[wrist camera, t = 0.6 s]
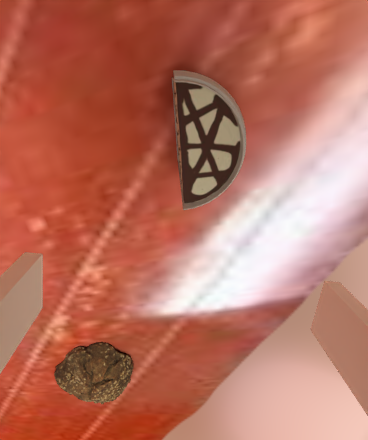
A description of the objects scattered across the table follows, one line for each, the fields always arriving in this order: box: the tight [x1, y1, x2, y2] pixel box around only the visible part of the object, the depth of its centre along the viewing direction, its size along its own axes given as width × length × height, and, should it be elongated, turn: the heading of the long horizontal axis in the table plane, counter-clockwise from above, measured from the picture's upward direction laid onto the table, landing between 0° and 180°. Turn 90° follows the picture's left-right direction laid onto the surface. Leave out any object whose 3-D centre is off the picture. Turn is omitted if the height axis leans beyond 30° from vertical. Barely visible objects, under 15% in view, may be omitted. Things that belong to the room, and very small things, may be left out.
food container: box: [172, 70, 246, 210], centre depth 33 cm, size 12×6×10 cm, turn 3°
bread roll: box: [54, 342, 133, 404], centre depth 55 cm, size 13×12×5 cm
